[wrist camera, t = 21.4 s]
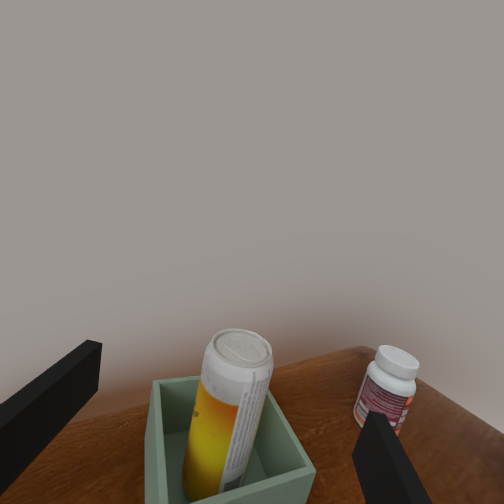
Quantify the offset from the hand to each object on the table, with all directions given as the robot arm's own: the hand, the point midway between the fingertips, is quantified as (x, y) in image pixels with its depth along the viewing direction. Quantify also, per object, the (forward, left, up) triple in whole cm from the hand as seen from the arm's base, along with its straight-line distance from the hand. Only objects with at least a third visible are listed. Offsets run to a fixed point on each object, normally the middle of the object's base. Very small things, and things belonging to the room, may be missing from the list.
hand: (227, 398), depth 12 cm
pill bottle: (+29, +10, -19) cm, 36 cm away
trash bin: (+4, +8, -18) cm, 21 cm away
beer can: (+4, +8, -18) cm, 20 cm away
